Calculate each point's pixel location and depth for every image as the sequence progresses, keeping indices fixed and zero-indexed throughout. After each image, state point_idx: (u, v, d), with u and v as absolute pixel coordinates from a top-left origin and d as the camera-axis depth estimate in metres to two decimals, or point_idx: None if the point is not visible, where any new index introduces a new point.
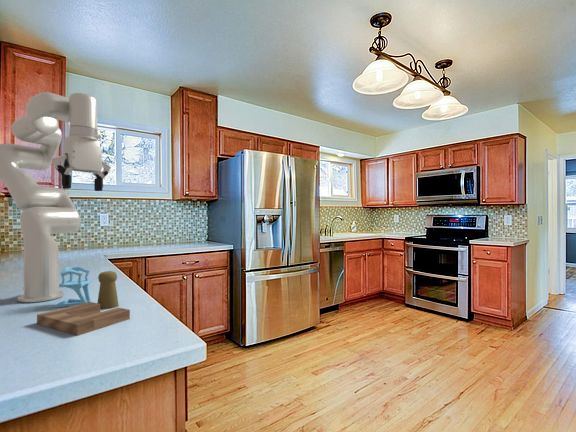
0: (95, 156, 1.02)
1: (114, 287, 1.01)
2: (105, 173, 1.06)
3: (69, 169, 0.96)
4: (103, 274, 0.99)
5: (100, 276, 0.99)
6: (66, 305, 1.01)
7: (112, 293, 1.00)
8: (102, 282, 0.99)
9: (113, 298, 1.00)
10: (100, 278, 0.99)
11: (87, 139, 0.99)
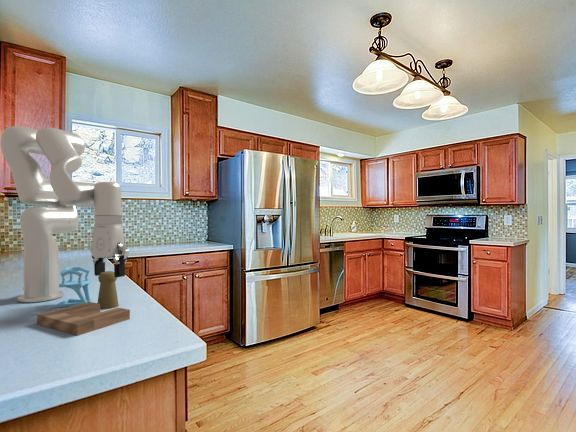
0: None
1: (114, 287, 1.01)
2: None
3: None
4: (103, 274, 0.99)
5: (100, 276, 0.99)
6: (66, 305, 1.01)
7: (112, 293, 1.00)
8: (102, 282, 0.99)
9: (113, 298, 1.00)
10: (100, 278, 0.99)
11: None
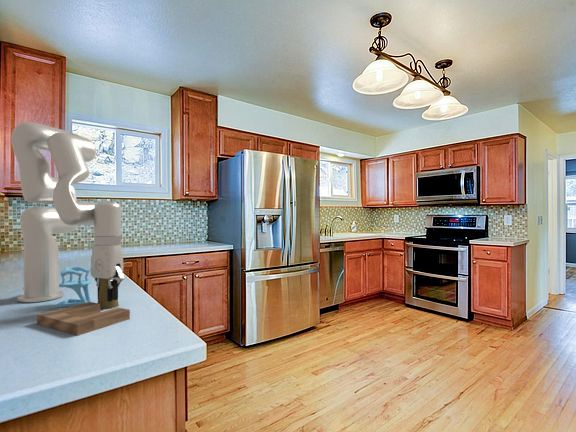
0: None
1: None
2: None
3: None
4: None
5: None
6: (66, 305, 1.01)
7: None
8: (102, 282, 0.99)
9: None
10: (100, 278, 0.99)
11: None
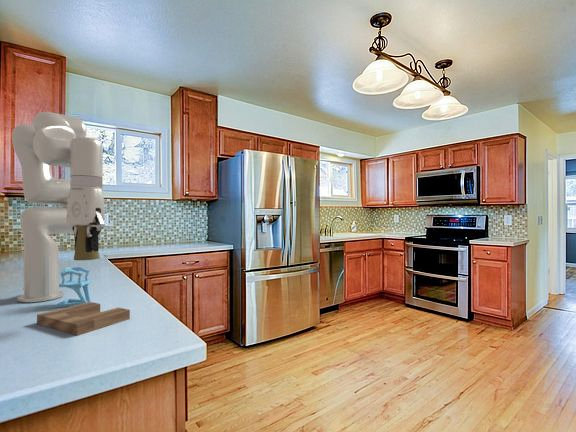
0: None
1: None
2: None
3: None
4: None
5: None
6: (66, 305, 1.01)
7: None
8: (80, 229, 0.86)
9: None
10: (77, 225, 0.85)
11: None
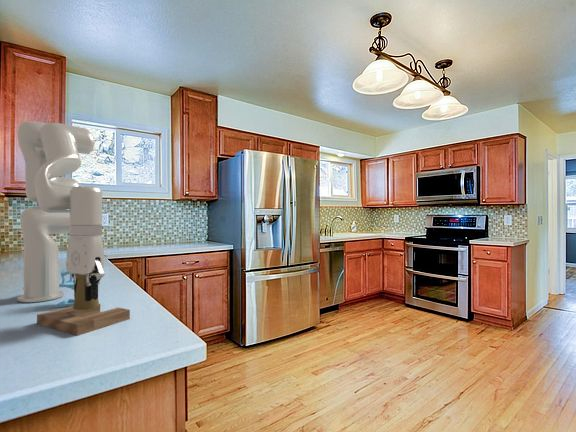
0: None
1: None
2: None
3: None
4: None
5: None
6: (66, 305, 1.01)
7: None
8: (79, 278, 0.86)
9: None
10: (77, 274, 0.85)
11: None
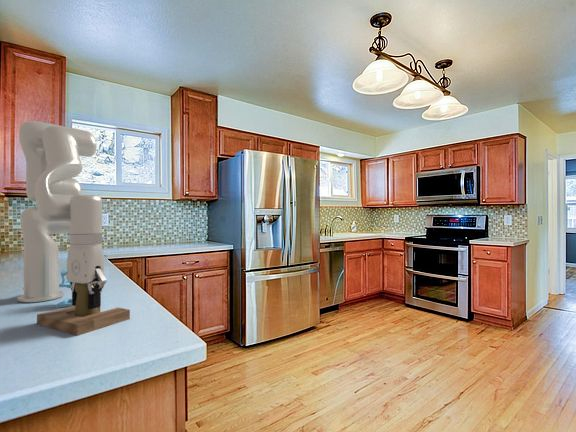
0: None
1: None
2: None
3: None
4: None
5: (77, 286, 0.86)
6: (66, 305, 1.01)
7: None
8: (79, 293, 0.86)
9: (92, 311, 0.87)
10: (77, 288, 0.85)
11: None
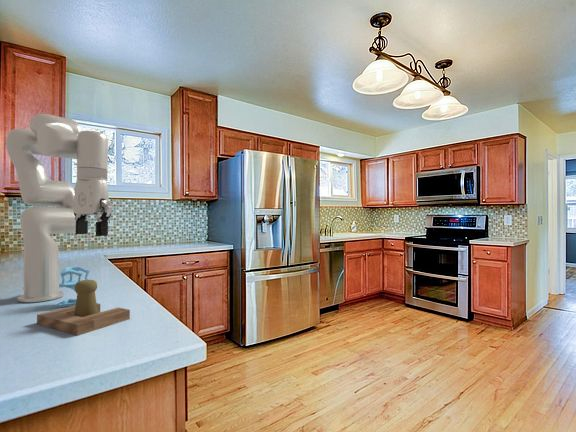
0: None
1: (93, 298, 0.88)
2: None
3: None
4: (80, 283, 0.86)
5: (77, 286, 0.86)
6: (66, 305, 1.01)
7: (91, 305, 0.87)
8: (79, 293, 0.86)
9: (92, 311, 0.87)
10: (77, 288, 0.85)
11: None
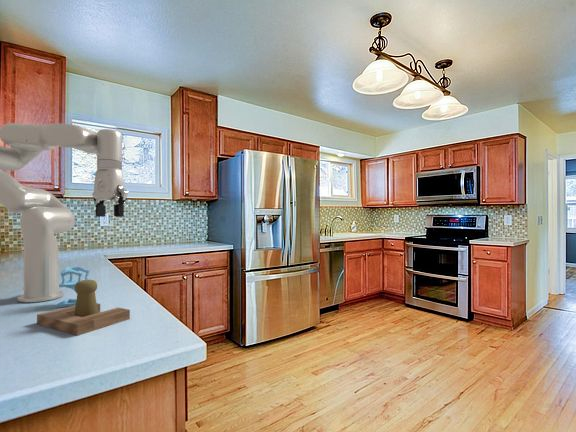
0: None
1: (93, 298, 0.88)
2: None
3: None
4: (80, 283, 0.86)
5: (77, 286, 0.86)
6: (66, 305, 1.01)
7: (91, 305, 0.87)
8: (79, 293, 0.86)
9: (92, 311, 0.87)
10: (77, 288, 0.85)
11: None
